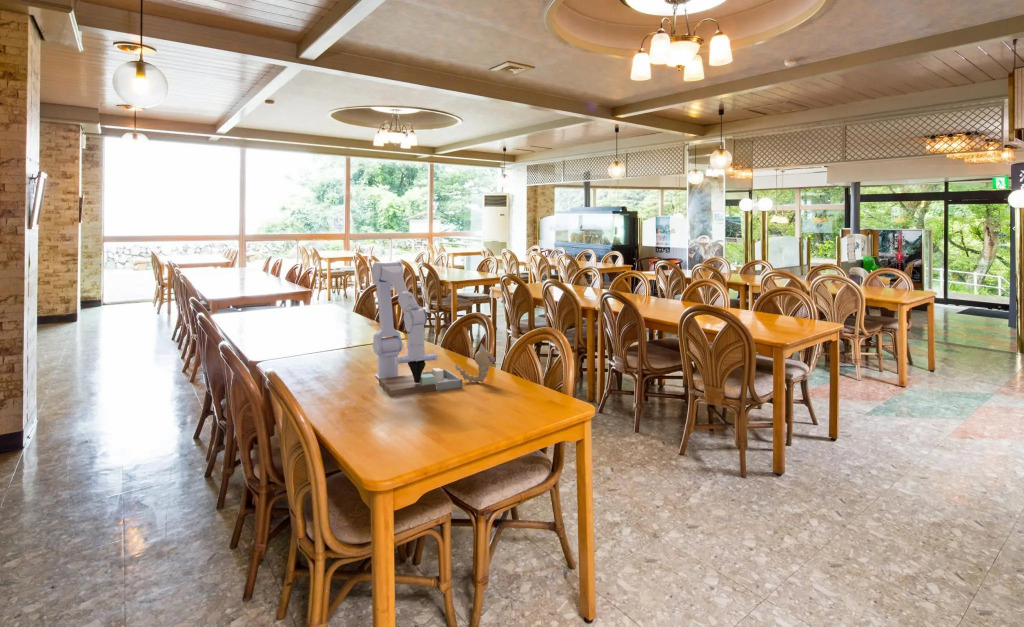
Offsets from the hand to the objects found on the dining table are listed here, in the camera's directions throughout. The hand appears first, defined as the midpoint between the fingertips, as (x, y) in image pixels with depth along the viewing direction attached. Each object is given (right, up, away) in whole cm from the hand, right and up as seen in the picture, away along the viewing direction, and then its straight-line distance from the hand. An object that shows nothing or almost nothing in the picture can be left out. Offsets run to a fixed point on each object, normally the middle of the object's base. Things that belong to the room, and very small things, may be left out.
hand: (416, 382), depth 203 cm
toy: (+20, -2, +11) cm, 23 cm away
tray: (+8, -2, +10) cm, 12 cm away
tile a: (+5, +1, +10) cm, 11 cm away
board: (-4, -2, +4) cm, 6 cm away
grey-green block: (+3, 0, +2) cm, 4 cm away
